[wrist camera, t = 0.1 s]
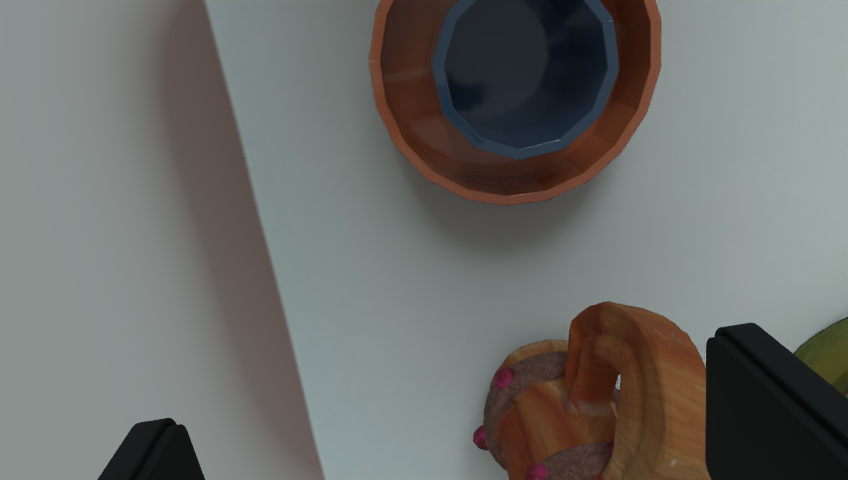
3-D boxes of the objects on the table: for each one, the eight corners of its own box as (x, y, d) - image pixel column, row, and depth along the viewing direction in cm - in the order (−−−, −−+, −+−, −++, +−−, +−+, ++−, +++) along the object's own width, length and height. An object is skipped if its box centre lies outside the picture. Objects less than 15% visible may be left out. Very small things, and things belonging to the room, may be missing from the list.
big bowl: (319, 55, 29) (308, 59, 25) (516, -151, 26) (535, -181, 23) (489, 230, 33) (502, 256, 29) (677, 64, 30) (717, 69, 26)
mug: (575, 457, 38) (681, 705, 24) (456, 437, 37) (494, 684, 23) (654, 255, 34) (841, 417, 20) (520, 227, 33) (615, 375, 19)
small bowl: (396, 57, 29) (396, 63, 24) (511, -59, 27) (538, -80, 22) (495, 165, 31) (516, 192, 26) (608, 63, 29) (653, 70, 24)
